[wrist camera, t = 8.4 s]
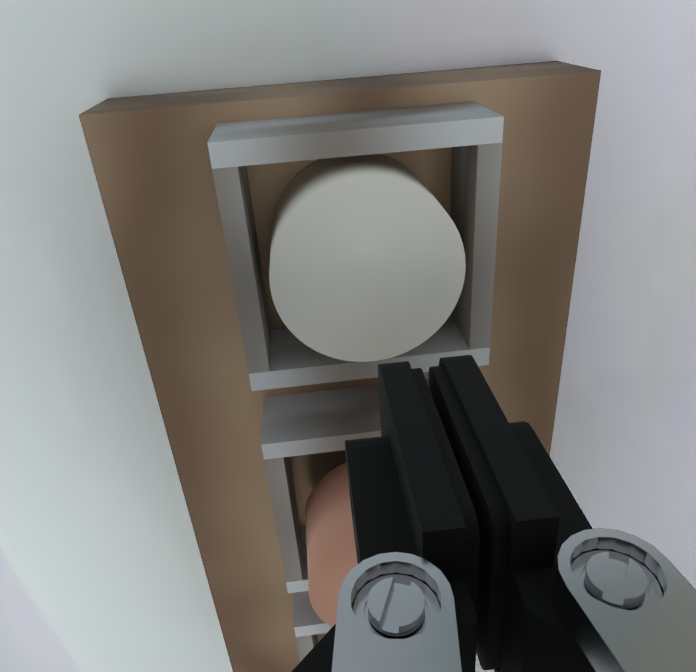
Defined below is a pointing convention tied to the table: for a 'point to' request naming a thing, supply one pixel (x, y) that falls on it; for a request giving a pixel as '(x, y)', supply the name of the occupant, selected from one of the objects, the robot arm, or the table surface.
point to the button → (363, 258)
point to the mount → (268, 328)
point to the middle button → (329, 542)
